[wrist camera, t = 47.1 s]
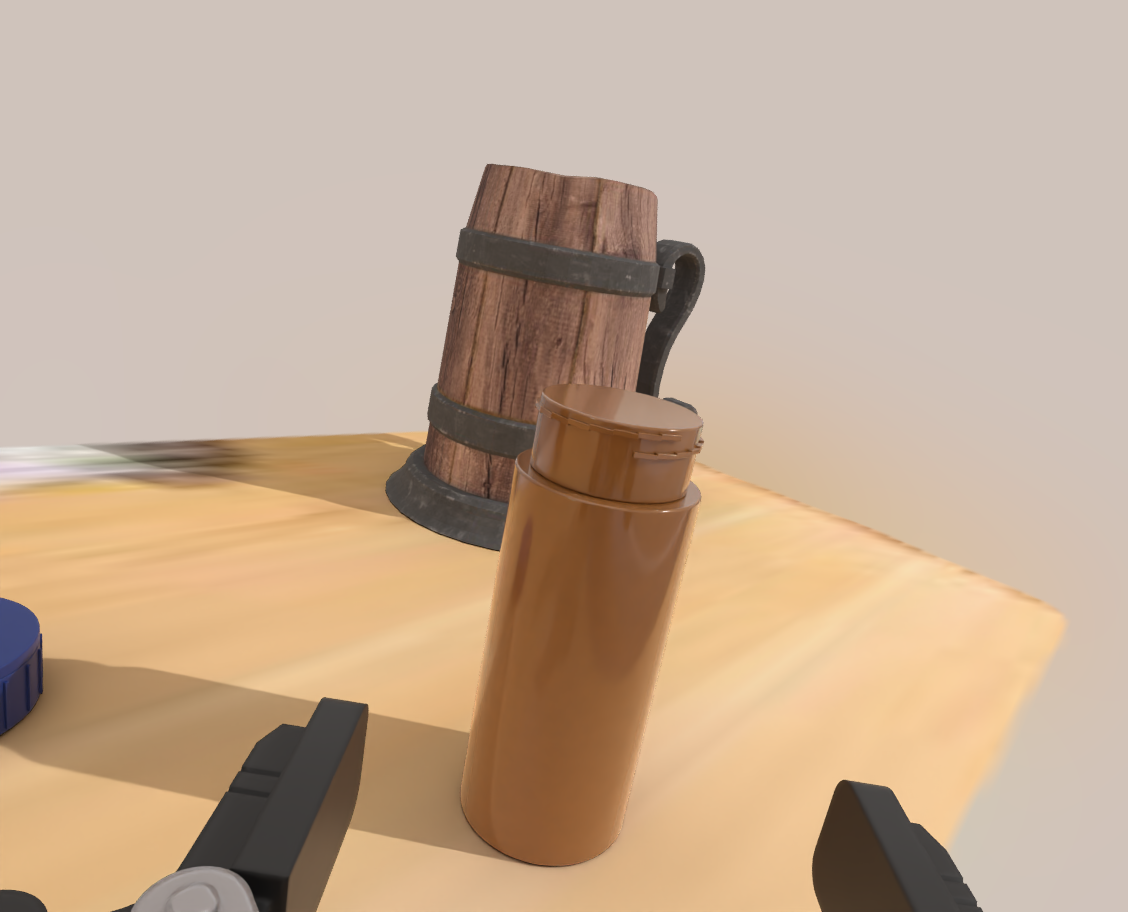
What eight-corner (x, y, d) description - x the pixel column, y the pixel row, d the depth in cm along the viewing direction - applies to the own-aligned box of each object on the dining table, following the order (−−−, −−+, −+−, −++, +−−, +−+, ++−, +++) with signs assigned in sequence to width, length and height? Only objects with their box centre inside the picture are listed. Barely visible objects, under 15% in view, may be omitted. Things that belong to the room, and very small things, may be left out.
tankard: (480, 576, 38) (548, 154, 33) (340, 463, 50) (372, 140, 45) (761, 525, 53) (840, 231, 48) (601, 448, 65) (650, 205, 60)
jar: (436, 762, 25) (495, 374, 21) (572, 734, 28) (646, 385, 24) (501, 888, 21) (589, 431, 17) (655, 841, 23) (759, 436, 20)
